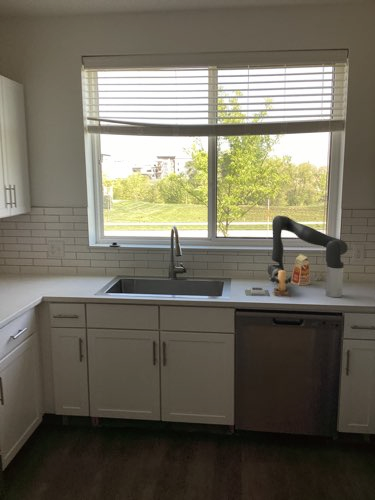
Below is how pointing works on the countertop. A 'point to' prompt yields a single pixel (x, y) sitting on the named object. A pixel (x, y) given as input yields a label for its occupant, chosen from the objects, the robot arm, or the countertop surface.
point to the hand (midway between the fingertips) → (282, 282)
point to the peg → (281, 280)
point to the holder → (281, 293)
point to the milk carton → (301, 271)
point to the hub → (257, 291)
